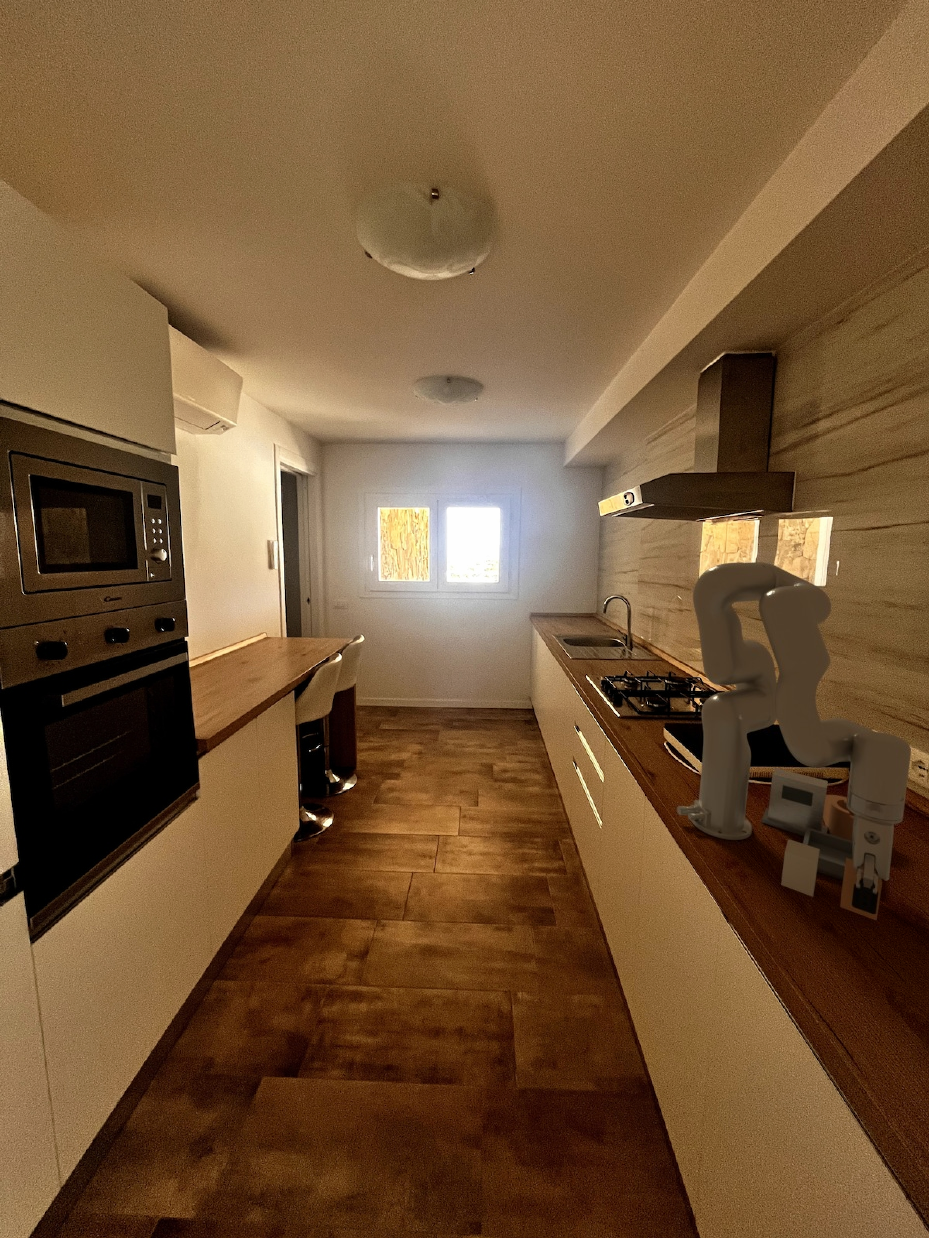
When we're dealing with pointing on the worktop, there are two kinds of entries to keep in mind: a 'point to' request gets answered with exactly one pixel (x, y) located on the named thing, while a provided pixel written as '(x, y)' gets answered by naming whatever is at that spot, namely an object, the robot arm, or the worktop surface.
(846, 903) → the terracotta block
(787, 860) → the cream block
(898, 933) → the worktop surface
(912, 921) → the worktop surface
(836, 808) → the bracket
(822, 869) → the tray
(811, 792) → the mounted unit
